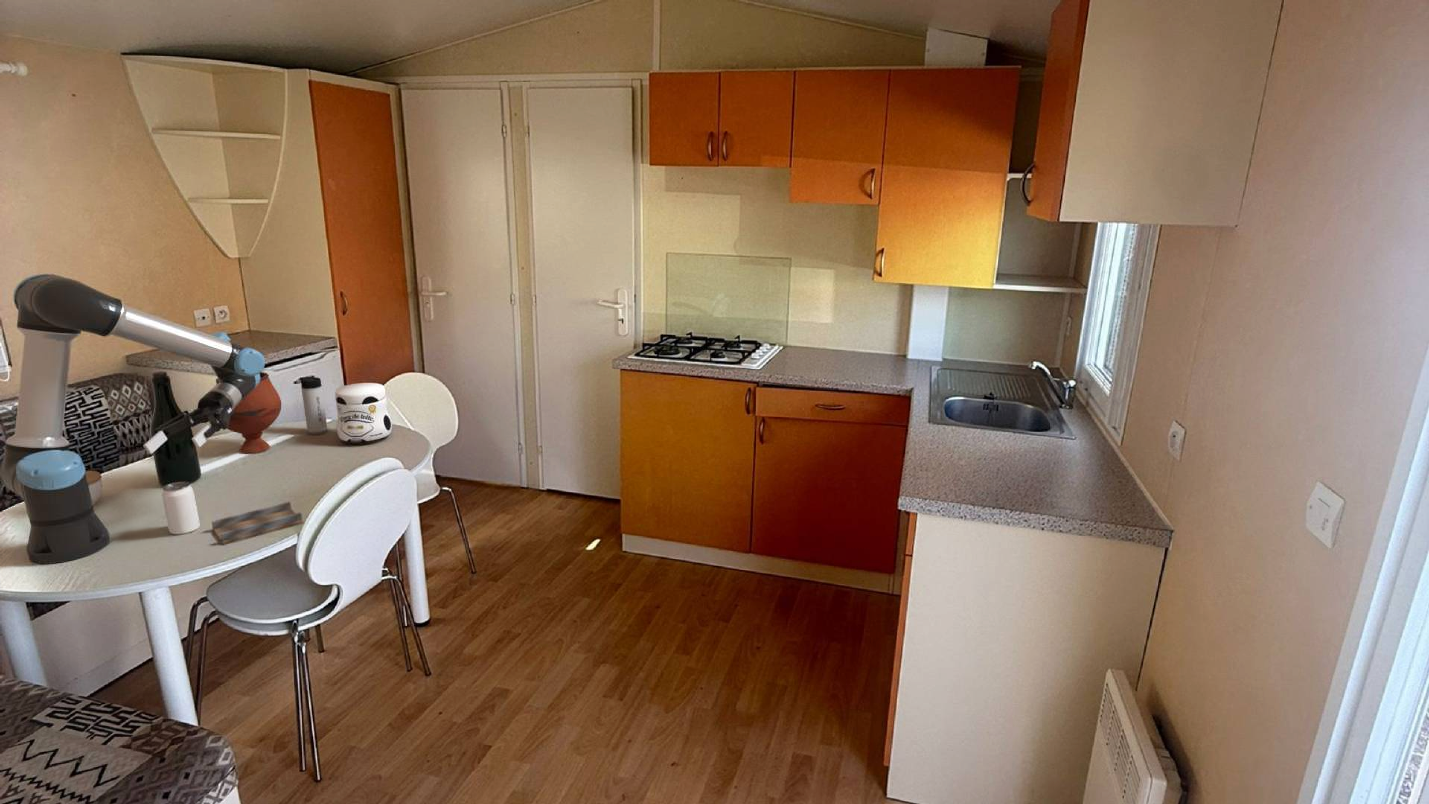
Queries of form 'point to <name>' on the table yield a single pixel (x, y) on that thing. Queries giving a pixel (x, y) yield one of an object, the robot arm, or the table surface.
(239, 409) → the goblet
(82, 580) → the table surface
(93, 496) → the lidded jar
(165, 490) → the can
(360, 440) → the milk container
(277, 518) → the track
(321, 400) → the travel mug
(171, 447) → the dark green bottle
